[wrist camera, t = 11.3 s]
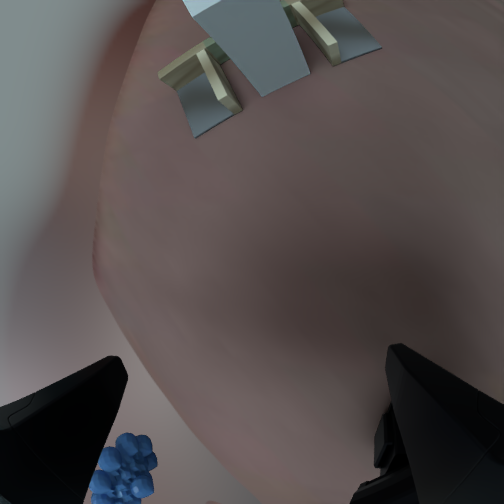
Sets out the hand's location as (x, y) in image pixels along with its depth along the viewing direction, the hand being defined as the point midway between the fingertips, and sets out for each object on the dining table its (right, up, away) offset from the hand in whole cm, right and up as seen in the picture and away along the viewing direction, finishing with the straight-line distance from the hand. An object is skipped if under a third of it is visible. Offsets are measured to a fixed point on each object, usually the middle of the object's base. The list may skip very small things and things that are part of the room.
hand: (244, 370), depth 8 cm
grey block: (+2, +19, +12) cm, 23 cm away
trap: (+2, +19, +12) cm, 23 cm away
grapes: (-11, -22, +19) cm, 31 cm away
